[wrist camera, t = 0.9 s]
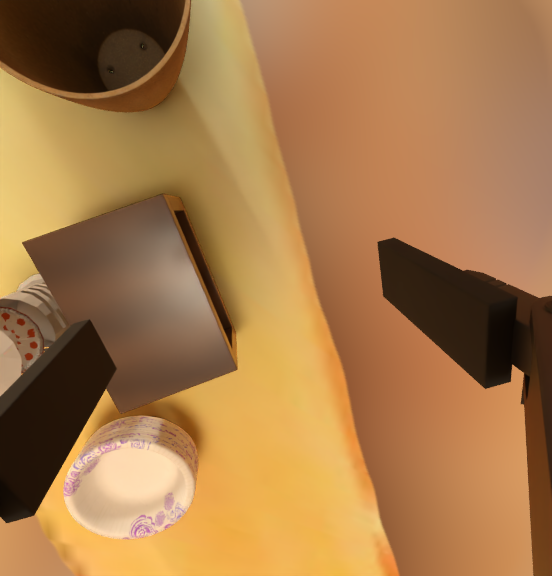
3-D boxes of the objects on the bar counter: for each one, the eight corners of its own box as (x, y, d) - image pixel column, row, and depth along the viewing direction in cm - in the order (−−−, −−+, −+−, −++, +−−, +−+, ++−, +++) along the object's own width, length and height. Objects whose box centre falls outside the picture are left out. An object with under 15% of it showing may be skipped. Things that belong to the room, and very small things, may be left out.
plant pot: (123, 170, 36) (43, 141, 21) (31, 35, 32) (-155, -126, 16) (233, 103, 36) (235, 24, 21) (155, -41, 32) (85, -275, 16)
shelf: (75, 233, 37) (21, 242, 27) (180, 197, 38) (162, 193, 28) (145, 367, 42) (120, 414, 33) (236, 333, 43) (237, 369, 33)
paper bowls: (158, 504, 48) (145, 560, 40) (68, 457, 44) (33, 510, 36) (222, 435, 46) (220, 479, 39) (134, 380, 42) (112, 417, 35)
